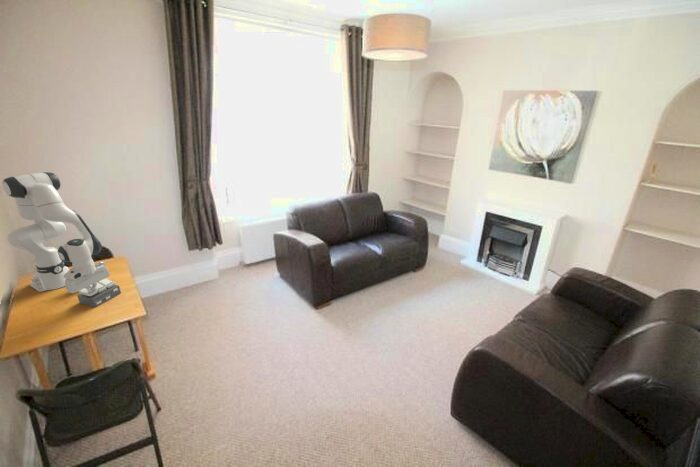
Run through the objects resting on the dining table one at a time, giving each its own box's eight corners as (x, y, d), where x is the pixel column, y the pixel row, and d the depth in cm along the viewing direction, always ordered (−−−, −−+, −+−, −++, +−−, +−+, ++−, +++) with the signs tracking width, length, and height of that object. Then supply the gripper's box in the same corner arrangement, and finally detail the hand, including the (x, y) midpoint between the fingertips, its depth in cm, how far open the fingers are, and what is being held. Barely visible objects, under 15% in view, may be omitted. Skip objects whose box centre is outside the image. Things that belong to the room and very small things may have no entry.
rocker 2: (88, 287, 180) (88, 285, 179) (95, 284, 184) (95, 281, 183) (99, 292, 179) (99, 290, 178) (106, 289, 182) (106, 286, 181)
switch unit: (79, 302, 179) (76, 293, 176) (106, 289, 192) (103, 280, 190) (95, 307, 175) (92, 297, 173) (121, 293, 188) (118, 284, 186)
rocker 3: (97, 283, 185) (97, 280, 184) (104, 279, 188) (104, 277, 187) (108, 288, 183) (108, 285, 182) (115, 284, 186) (114, 282, 186)
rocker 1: (79, 293, 176) (78, 290, 175) (87, 289, 180) (86, 286, 179) (90, 296, 174) (89, 293, 173) (97, 292, 177) (96, 289, 177)
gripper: (100, 259, 180) (107, 281, 185) (59, 276, 162) (68, 300, 167) (108, 261, 178) (115, 283, 183) (68, 278, 160) (76, 302, 165)
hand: (92, 291), depth 175 cm, fingers closed
